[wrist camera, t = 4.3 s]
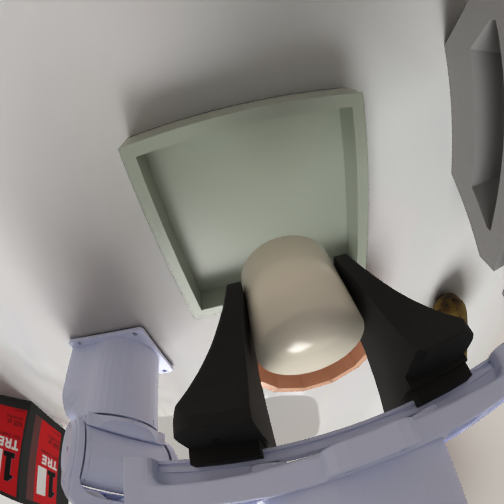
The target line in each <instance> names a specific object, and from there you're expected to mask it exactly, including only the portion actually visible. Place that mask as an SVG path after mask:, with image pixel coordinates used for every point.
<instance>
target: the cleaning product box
mask: <svg viewBox="0 0 504 504" xmlns="http://www.w3.org/2000/svg"><path fill="white" fill-rule="evenodd" d="M65 431H66V430H64V429H63V428H62V427H61V426H59V425H58V424H57V423H56V422H55V421H53V420H52V419H51V418H50V417H49V416H47V415H46V414H45V413H44V412H43V411H42V410H40V409H39V408H38V407H37V406H36V405H35V404H34V403H33V402H31V401H26V400H21V399H16V398H11V397H7V396H3V395H0V494H1V495H4V496H6V497H8V498H10V499H12V500H15V501H17V502H20V503H23V504H68V499H67V498H66V496H65V494H64V491H63V489H62V486H61V473H62V471H61V453H62V445H63V439H64V435H65Z"/></svg>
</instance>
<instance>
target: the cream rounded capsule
mask: <svg viewBox="0 0 504 504" xmlns="http://www.w3.org/2000/svg"><path fill="white" fill-rule="evenodd" d="M241 281H242V286H243V291H244V296H245V301H246V306H247V312H248V318H249V323H250V328H251V333H252V338H253V343H254V348H255V353H256V358H257V361H258V363H259V364H260V365H261V367H263V368H264V369H266V370H267V371H270V372H272V373H276V374H281V375H298V374H305V373H310V372H313V371H317V370H320V369H322V368H325V367H327V366H329V365H331V364H333V363H335V362H337V361H338V360H340V359H341V358H343V357H344V356H346V355H347V354H348V353H349V352H350V351H351V350H352V349H353V348H354V347H355V346H356V345H357V344H358V342H359V341H360V339H361V337H362V335H363V332H364V320H363V318H362V316H361V314H360V312H359V310H358V309H357V307H356V305H355V303H354V301H353V299H352V297H351V296H350V294H349V292H348V290H347V288H346V286H345V285H344V283H343V281H342V279H341V277H340V275H339V274H338V272H337V270H336V268H335V267H334V265H333V263H332V261H331V260H330V258H329V256H328V254H327V253H326V251H325V249H324V248H323V247H322V245H320V244H319V243H318V242H317V241H315V240H313V239H311V238H309V237H305V236H300V235H287V236H282V237H278V238H275V239H272V240H270V241H267V242H266V243H264V244H262V245H261V246H259V247H258V248H257V249H256V250H254V251H253V252H252V253H251V255H250V256H249V257H248V259H247V260H246V262H245V264H244V266H243V269H242V274H241Z"/></svg>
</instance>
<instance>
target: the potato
mask: <svg viewBox="0 0 504 504" xmlns="http://www.w3.org/2000/svg"><path fill="white" fill-rule="evenodd" d="M433 309H434V310H437V311H440V312H442V313H445V314H449V315H452V316H456V317H460V318H463V320H464V321H465V322H466V323H467V311H466V307H465V304H464V303H463V301H462V300H461V299H460V298H458V297H457V296H456V295H455V294H453V293H447V294H445V295H442V296H441V297H440V298H439V299H438V300H437V301H436V303H435V305H434V307H433ZM464 354H465V356H466V358H467V350H466V352H465V353H464Z"/></svg>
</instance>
